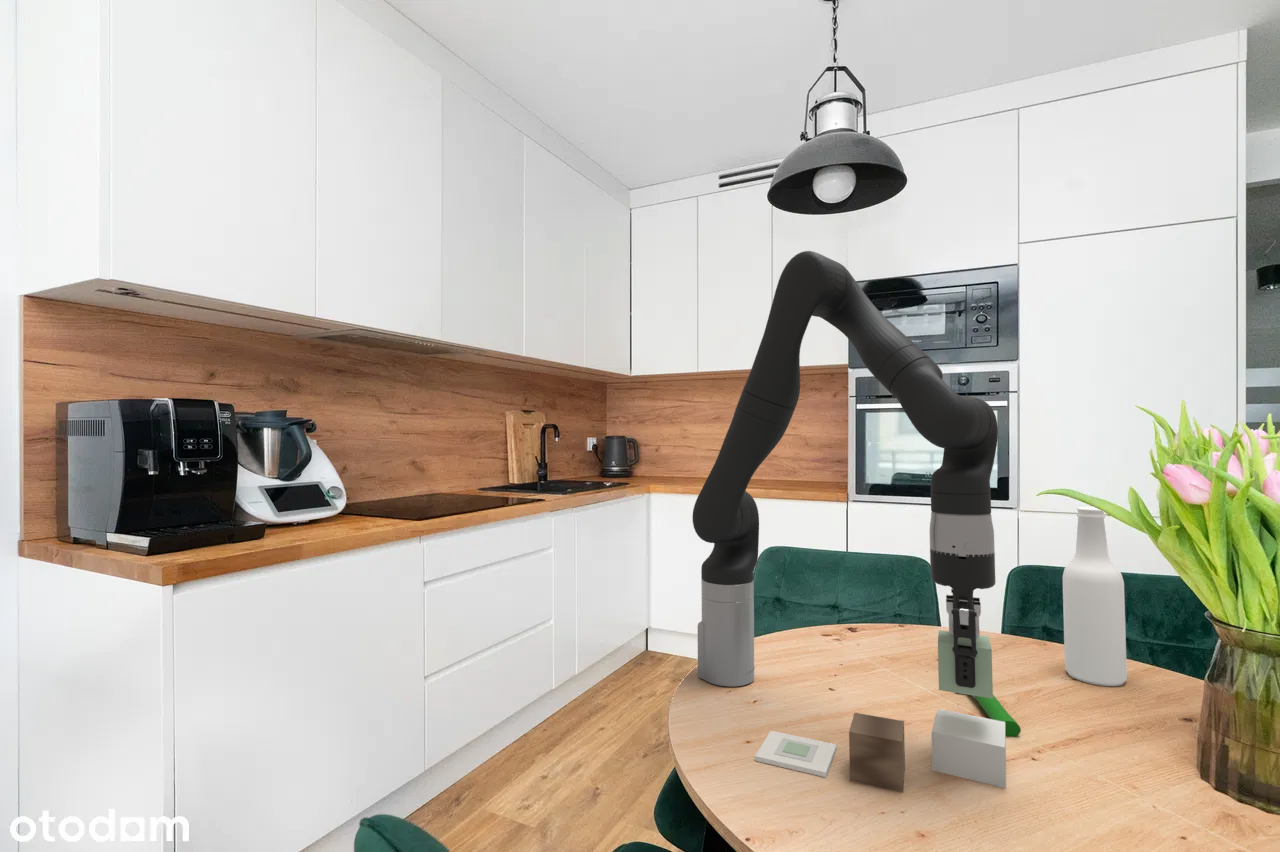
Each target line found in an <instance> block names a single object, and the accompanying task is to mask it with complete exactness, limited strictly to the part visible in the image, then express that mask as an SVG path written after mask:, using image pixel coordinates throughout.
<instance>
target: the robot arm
mask: <svg viewBox="0 0 1280 852" xmlns="http://www.w3.org/2000/svg"><path fill="white" fill-rule="evenodd" d="M767 317H768V318H767V321H766V325H765V328H764V332H763V335H762V338H761V341H760V344H759V346H758V349H757V353H756V354H755V358H754V361H753V364H752V366H751V369H750V372H749V373H748V376H747V380H745V384H744V386H743V389H742V391H741V394H740V396H739V399H738V402H737V404H736V407H735V410H734V413H733V416H732V419H731V422H730V423H729V424H730V425H729V427H728V429H727V432H726V434H725V437H724V439H723V441H722V444H721V447H720V450H719V452H718V454H717V458H716V460H715V461H714V464H713V467H712V468H711V470H710V471H709V474H708V476H707V477H706V479H705V481H704V484H703V486H702V487H701V490H700V491H699V494H698V496H697V497H696V500H695V503H694V506H693V510H692V524H693V525H692V526H693V529H694V531H695V534H696V535H697V536H698V537H699V539H701V540H702V541H704V542H705V543H708V544H709V543H710V544H713V549H712V550H711V552H710V554H709V555H708V557H707V558H706V559H705V560H704V561H703V563H702V564H701V568H700V569H701V571H700V573H701V574H700V575H701V576H700V577H701V580H700V581H701V621H699V622H698V623H697V679H702V680H704V681H706V682H707V683H710V684H712V685H716V686H720V687H741V686H743V687H744V686H745V685H746V686H747V685H748V684H751V683H752V682H754V680H755V610H754V609H755V604H754V603H755V602H754V601H755V600H754V599H755V598H754V597H755V594H754V592H755V591H754V590H755V589H754V588H755V585H754V578H755V577H754V573H755V570H756V569H755V568H756V566H757V564H758V560H759V545H760V544H759V542H760V541H759V537H760V536H759V535H760V517H759V516H760V515H759V509H758V506H757V502H756V501H755V499H754V498H753V496H752V495H751V494H750V493H749V492H747V488H748V486H749V483H750V481H751V479H752V477H753V476H754V474H755V473H756V472H757V469H758V468H759V467H760V466H761V464H762V463H763V462H764V461H765V460H766V458H768V456H769V455H770V454H771V453H772V451H773V450H774V449H775V448H776V446H777V445H778V444H779V443H780V442H781V440H782V438H783V437H784V435H785V434H786V431H787V429H788V427H789V424H790V422H791V420H792V417H793V415H794V412H795V410H796V408H797V405H798V402H799V399H800V394H801V391H800V390H801V370H800V369H801V365H800V358H801V357H800V354H801V347H802V342H803V339H804V336H805V333H806V330H807V329H808V325H809V323H810V321H811V318H812V317H818V318H820V319H823V320H824V321H826V322H827V323H829V325H832V326H833V327H834V328H836V329H837V330H839V332H840V333H842V334H843V335H844V336H845V337H846V338H847V339H848V340H849V342H851V343H852V345H853V347H854V349H855V351H856V352H857V355H858V356H859V358H860V359H861V361H862V362H863V364H864V366H865V367H866V368H867V370H868V371H869V372H870V373H871V374H872V376H873V377H874V378H875V379H876V380H877V381H878V382H879V383H880V384H881V385H882V386H883V387H884V389H886V390H887V391H888V392H889V394H891V395H892V396H893V397H894V398H895V399H896V400H897V401H898V402H899V404H900V406H901V408H902V410H903V412H904V413H905V414H906V417H907V418H908V419H909V421H910V422H911V424H912V426H914V429H916V431H917V432H918V433H919V434H920V435H921V436H922V437H923V438H924V439H925V440H926V441H928V442H930V443H931V444H932V445H934V446H935V447H938V448H941V449H943V457H942V463H941V466H940V467H939V468H937V469H936V470H934V472H933V473H932V474H931V479H930V511H931V512H930V522H929V561H930V562H929V563H930V565H929V566H930V579H931V581H932V582H934V584H937V585H940V586H943V587H950V589H951V590H950V591H951V593H952V594H946V595H945V598H946V599H945V606H946V608H945V610H946V613H947V614H948V631H949V634H950V635H951V636H952V637H953V638H954V647H952V650H953V652H954V655H955V678H956V684H957V685H958V686H961V687H968V688H974V687H975V685H976V683H975V658H976V655H978V652H977V650H976V639H978V638H979V635H981V634H980V632H981V631H980V617H981V613H982V609H981V608H982V606H981V605H982V604H981V600H980V599H981V597H975V596H974V591H975V590H976V589H980V590H986V589H991V588H993V587H994V586H995V585H996V552H995V529H994V525H993V518H992V496H991V493H992V492H991V491H992V490H991V476H992V472H993V467H994V462H995V457H996V453H997V452H996V451H997V446H998V439H999V437H998V436H999V427H998V421H997V417H996V414H995V411H994V409H993V408H992V406H991V405H990V404H989V403H987V402H986V401H985V400H984V399H980V398H978V397H974V396H966V395H960V394H958V393H957V392H956V391H954V390H953V389H952V388H951V387H950V386H949V385H948V384H947V383H946V382H945V381H944V380H943V376H944V375H943V371H942V369H941V368H940V366H938V364H937V363H936V362H935V360H933V359H932V358H931V357H930V356H929V355H927V353H925V352H924V351H923V350H922V349H921V347H919V346H918V345H917V344H916V343H914V342H913V340H911V339H910V338H909V337H908V336H907V335H905V333H903V332H902V330H900V329H899V328H897V327H896V326H895V325H894V323H892V322H891V321H889V319H888V318H886V317H885V316H884V314H882V312H880V310H879V309H878V308H877V307H876V306H875V304H874V303H873V302H872V301H871V299H870V298H869V297H868V296H867V295H866V293H865V292H864V290H863V289H862V287H861V286H860V285H859V284H858V282H857V281H856V279H855V278H854V276H853V275H852V274H851V272H850V271H849V270H848V269H847V268H846V267H845V266H844V265H843V264H842V263H840V262H838V261H836V260H833V259H831V258H830V257H827V256H825V255H824V254H821V253H819V252H815V251H811V250H804V251H801V252H798V253H797V254H795V255H793V257H792V258H790V260H789V261H788V262H787V263H786V264H785V267H784V268H783V270H782V272H781V273H780V275H779V279H778V283H777V285H776V289H775V291H774V296H773V299H772V303H771V307H770V310H769V314H768V316H767ZM959 637H961V638H969V639H970V640H971V646H965V645H958V638H959Z"/></svg>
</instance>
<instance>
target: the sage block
mask: <svg viewBox="0 0 1280 852" xmlns="http://www.w3.org/2000/svg"><path fill="white" fill-rule="evenodd" d="M937 633H938V635H937V662H938V663H937V665H938V670H937V672H938V690H939V691H940V692H941V691H942V692H949V693H955V694H961V695H969V696H972V695H973V696H979V697H986V698H992V699H993V695H994V693H993V692H994V689H993V651H992V645H991V644H992V643H991V640H990V635H984V634H983V635H982V634H980V635H979V638H978V639H976V650H977V652H978V655H976V658H975V683H976V685H975V687H974V688H968V687H961V686H958V685H957V684H956V678H955V655H954V652H953V650H952V647H954V638H953V637H952V636H951V635H950V634H949V630H948V631H947V630H938V632H937ZM958 645H965V646H971V640H970V639H969V638H961V637H959V638H958Z"/></svg>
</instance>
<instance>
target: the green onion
mask: <svg viewBox="0 0 1280 852" xmlns="http://www.w3.org/2000/svg"><path fill="white" fill-rule="evenodd" d="M971 696H972V698H974V699H975V700H976V701H977V703H978V704H979V705H980V706H981V709H983V711H984V713H986V715H987V716H988V717H989V719H993V720H998V721H1003V722H1005V734H1006V737H1010V738H1011V737H1017V736H1019V735H1020V734H1021V731H1022V730H1021V727H1020V724H1019V723H1018V722H1016V720H1015V719H1014V718H1013V716H1011V714H1010V713H1008V711H1007V710H1006V708H1004V706H1003V705H1002V704H1001V702H1000V701H999V700H998V699H997V697H996V696H995V695H994V694H993V699H992V698H986V697H979V696H973V695H971Z"/></svg>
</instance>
